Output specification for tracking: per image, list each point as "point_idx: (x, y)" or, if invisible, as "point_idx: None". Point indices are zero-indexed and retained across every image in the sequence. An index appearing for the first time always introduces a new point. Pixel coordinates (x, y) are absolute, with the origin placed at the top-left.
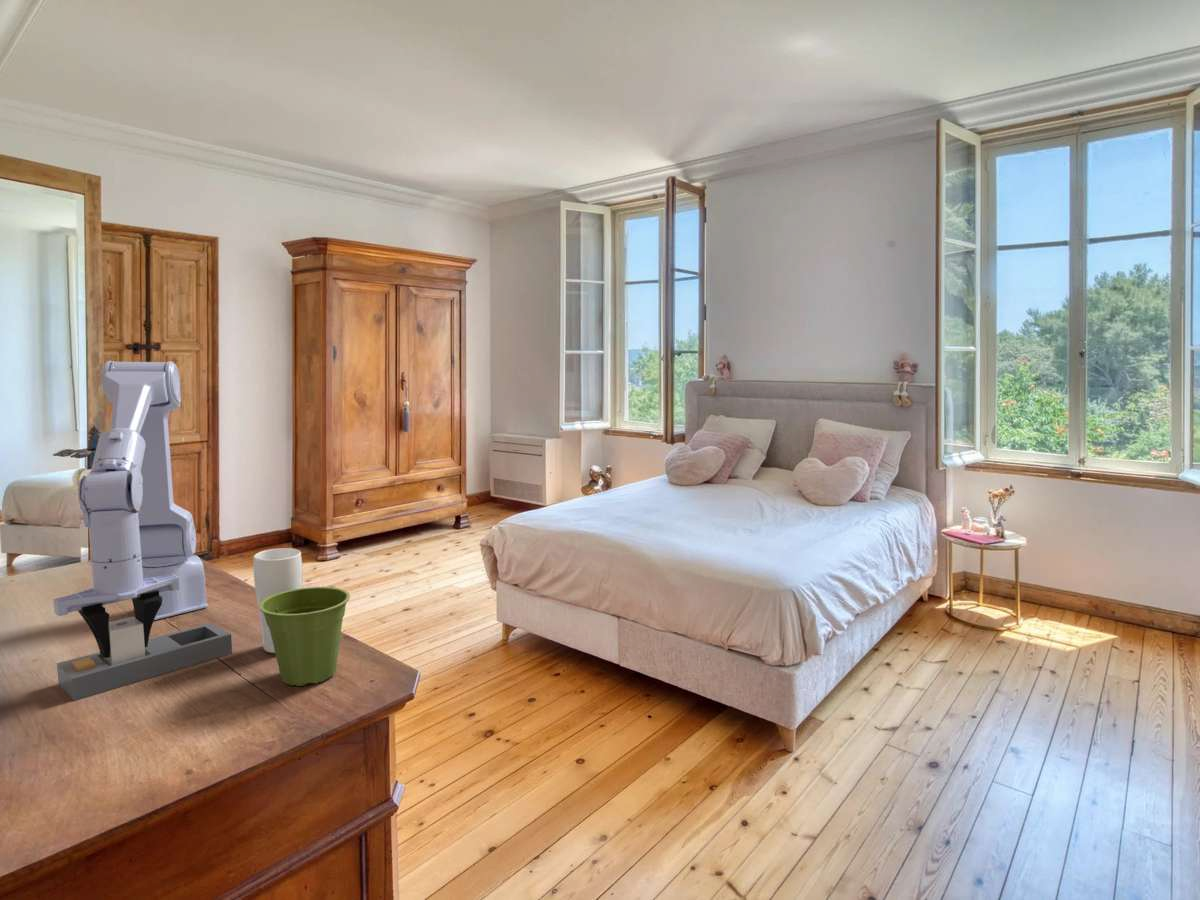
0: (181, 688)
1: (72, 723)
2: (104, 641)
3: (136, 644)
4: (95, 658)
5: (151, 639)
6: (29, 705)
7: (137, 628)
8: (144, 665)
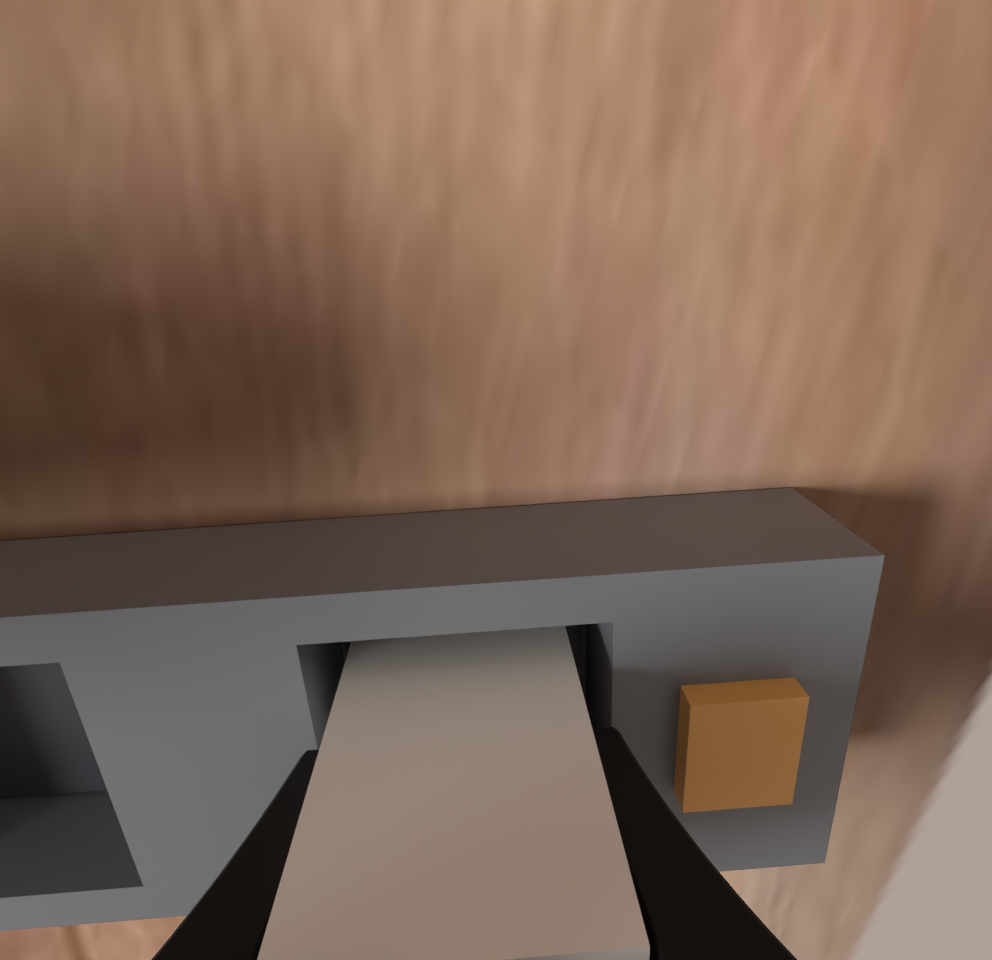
0: (208, 164)
1: (935, 122)
2: (672, 844)
3: (385, 754)
4: None
5: None
6: (952, 588)
7: (333, 921)
8: (376, 560)
